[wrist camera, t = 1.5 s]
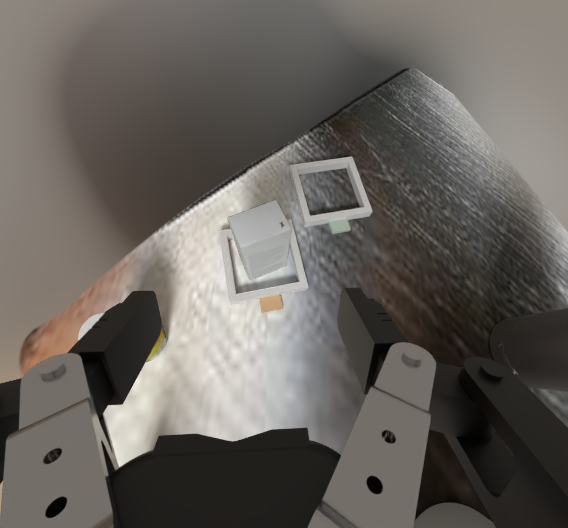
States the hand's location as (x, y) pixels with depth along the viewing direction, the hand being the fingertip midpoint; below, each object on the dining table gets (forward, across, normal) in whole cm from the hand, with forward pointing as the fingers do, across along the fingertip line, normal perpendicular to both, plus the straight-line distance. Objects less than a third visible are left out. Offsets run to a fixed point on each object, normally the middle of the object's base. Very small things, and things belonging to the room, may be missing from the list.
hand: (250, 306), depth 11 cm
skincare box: (+26, 0, +10) cm, 28 cm away
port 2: (+35, -11, +1) cm, 36 cm away
